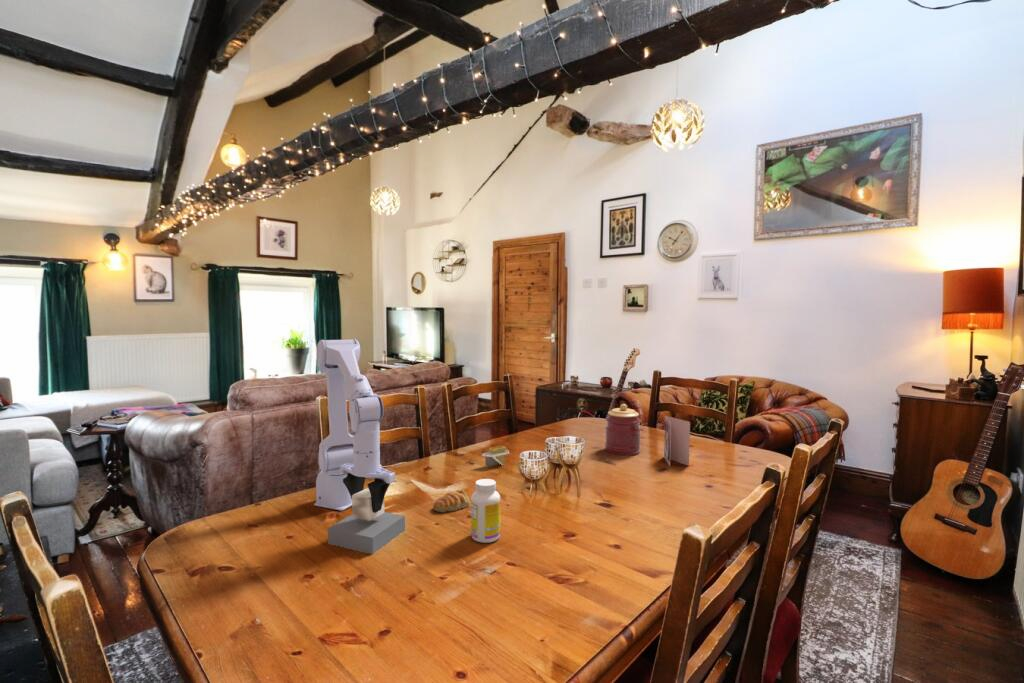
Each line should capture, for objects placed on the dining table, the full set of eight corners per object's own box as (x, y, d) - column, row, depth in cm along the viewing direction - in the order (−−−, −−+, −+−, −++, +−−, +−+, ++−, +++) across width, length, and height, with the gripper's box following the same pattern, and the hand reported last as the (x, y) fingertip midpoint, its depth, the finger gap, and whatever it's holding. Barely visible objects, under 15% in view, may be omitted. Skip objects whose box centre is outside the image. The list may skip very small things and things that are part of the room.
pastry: (442, 517, 121) (442, 502, 121) (427, 509, 126) (427, 494, 126) (471, 506, 128) (471, 492, 127) (456, 499, 132) (456, 486, 132)
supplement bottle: (504, 533, 112) (504, 479, 111) (494, 546, 106) (494, 489, 105) (477, 528, 114) (478, 475, 113) (466, 541, 108) (466, 485, 107)
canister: (605, 454, 174) (606, 406, 173) (604, 445, 187) (605, 400, 186) (642, 456, 172) (643, 408, 171) (638, 446, 185) (639, 401, 184)
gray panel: (328, 545, 106) (327, 528, 106) (363, 523, 117) (363, 507, 117) (372, 556, 102) (372, 537, 102) (405, 532, 113) (405, 515, 113)
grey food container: (528, 466, 161) (529, 447, 161) (484, 477, 151) (484, 456, 150) (507, 458, 171) (507, 439, 171) (464, 467, 160) (464, 448, 160)
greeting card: (661, 456, 172) (662, 415, 171) (683, 457, 171) (684, 416, 170) (667, 466, 161) (668, 422, 160) (690, 467, 160) (691, 423, 159)
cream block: (352, 516, 108) (351, 495, 108) (367, 508, 113) (367, 488, 113) (369, 521, 106) (369, 499, 106) (384, 512, 111) (384, 491, 110)
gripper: (403, 449, 109) (404, 508, 110) (355, 441, 115) (355, 497, 116) (382, 457, 102) (383, 520, 103) (332, 449, 109) (333, 507, 110)
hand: (367, 508), depth 109 cm, fingers closed on cream block, 5 cm apart
